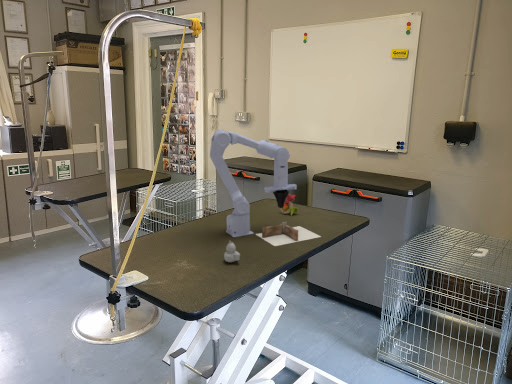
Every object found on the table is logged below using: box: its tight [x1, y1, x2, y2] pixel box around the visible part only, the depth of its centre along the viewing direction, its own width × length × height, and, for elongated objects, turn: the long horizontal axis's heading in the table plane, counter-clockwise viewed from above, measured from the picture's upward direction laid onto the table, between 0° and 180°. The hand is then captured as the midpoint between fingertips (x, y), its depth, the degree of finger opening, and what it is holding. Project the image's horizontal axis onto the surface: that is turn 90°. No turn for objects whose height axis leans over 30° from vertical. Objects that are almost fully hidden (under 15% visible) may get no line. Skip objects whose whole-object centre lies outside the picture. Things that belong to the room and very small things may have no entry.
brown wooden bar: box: [285, 224, 298, 240], centre depth 163 cm, size 9×2×4 cm, turn 25°
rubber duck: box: [223, 240, 241, 263], centre depth 140 cm, size 5×7×8 cm
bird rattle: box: [279, 193, 299, 217], centre depth 196 cm, size 6×11×9 cm
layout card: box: [255, 225, 322, 247], centre depth 166 cm, size 22×16×1 cm
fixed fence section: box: [261, 221, 288, 239], centre depth 166 cm, size 11×2×5 cm, turn 118°
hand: (280, 207), depth 171 cm, fingers closed
